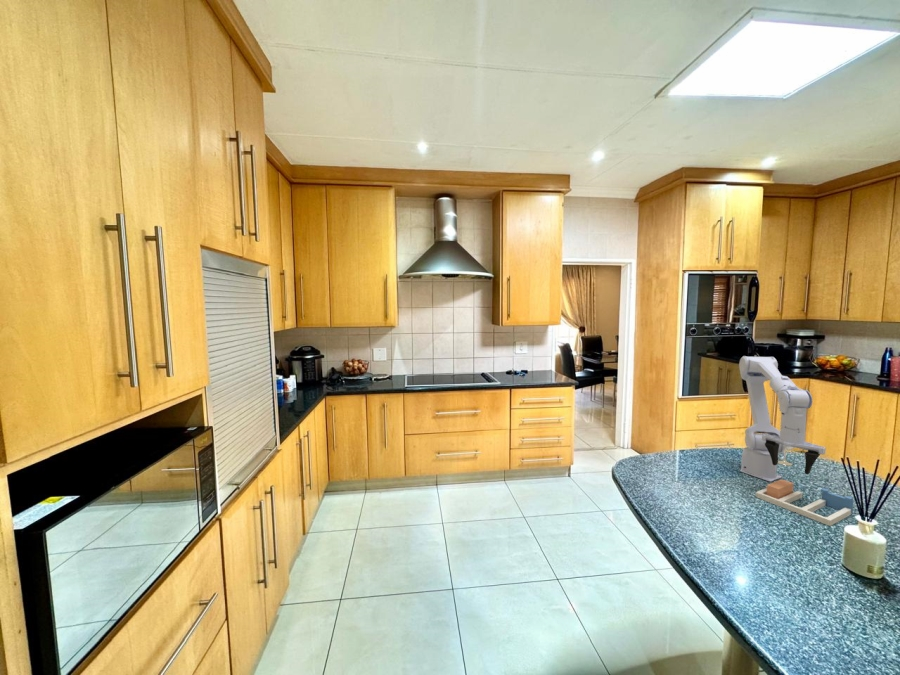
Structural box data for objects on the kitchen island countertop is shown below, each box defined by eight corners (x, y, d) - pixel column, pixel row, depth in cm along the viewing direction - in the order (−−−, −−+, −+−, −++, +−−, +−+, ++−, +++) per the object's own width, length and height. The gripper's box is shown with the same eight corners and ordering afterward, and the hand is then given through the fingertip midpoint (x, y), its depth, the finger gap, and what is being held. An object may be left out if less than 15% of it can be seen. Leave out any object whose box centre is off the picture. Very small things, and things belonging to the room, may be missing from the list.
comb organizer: (755, 496, 114) (755, 492, 114) (776, 488, 119) (776, 483, 119) (830, 526, 98) (830, 520, 98) (850, 514, 103) (851, 509, 103)
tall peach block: (766, 498, 113) (767, 484, 113) (781, 492, 117) (781, 479, 117) (778, 502, 111) (778, 489, 110) (792, 496, 114) (793, 483, 114)
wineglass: (798, 466, 135) (800, 436, 134) (781, 465, 136) (782, 435, 135) (787, 460, 141) (788, 431, 140) (770, 459, 142) (772, 430, 141)
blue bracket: (820, 504, 109) (821, 489, 109) (822, 502, 110) (823, 488, 110) (849, 514, 103) (850, 499, 103) (852, 513, 104) (853, 497, 104)
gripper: (758, 423, 115) (757, 463, 116) (821, 436, 103) (818, 481, 104) (767, 419, 119) (765, 458, 120) (828, 431, 106) (826, 475, 107)
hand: (790, 468), depth 112 cm, fingers open, 7 cm apart
